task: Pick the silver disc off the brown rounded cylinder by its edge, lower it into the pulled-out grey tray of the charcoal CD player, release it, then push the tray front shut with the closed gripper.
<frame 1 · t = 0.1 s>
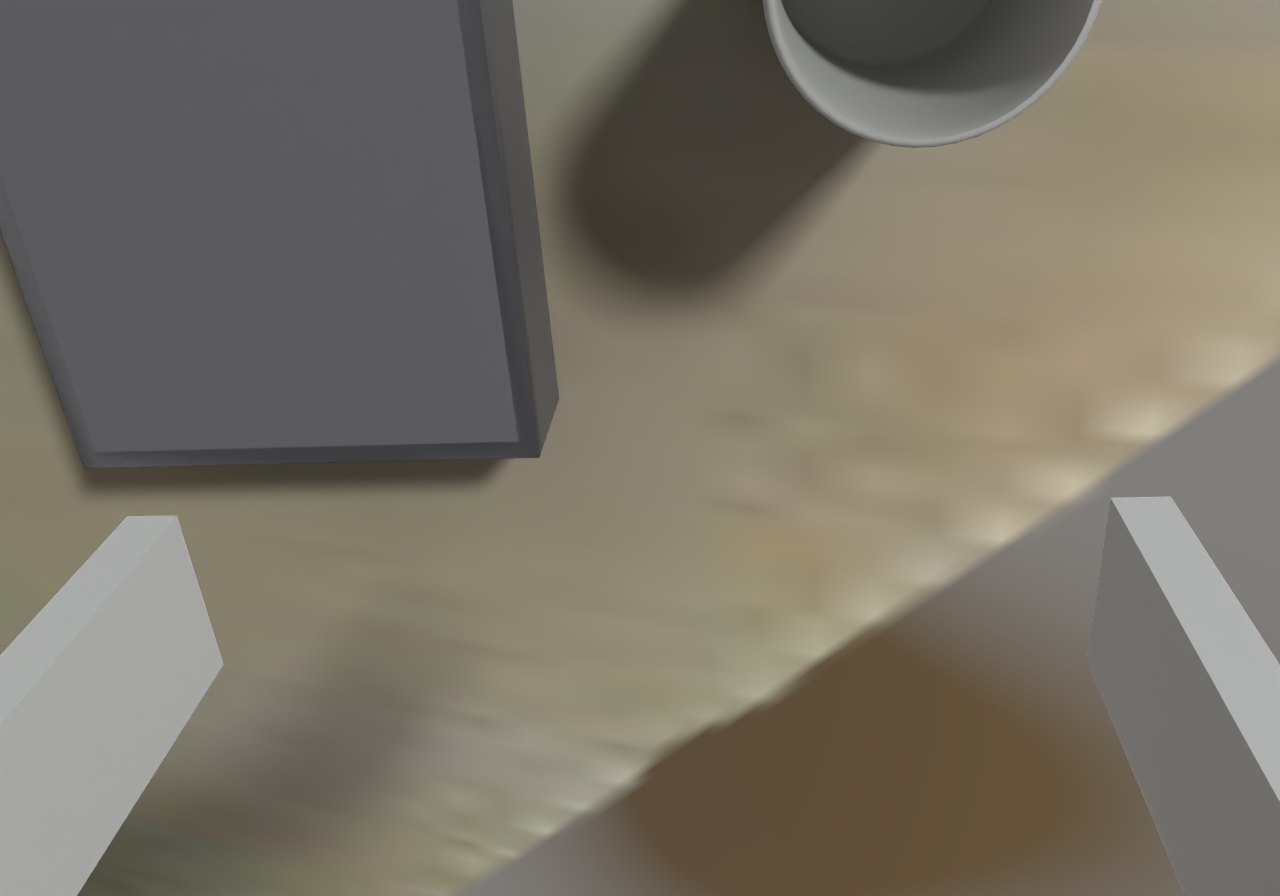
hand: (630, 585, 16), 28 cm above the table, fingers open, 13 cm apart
housing: (304, 206, 43), on the table
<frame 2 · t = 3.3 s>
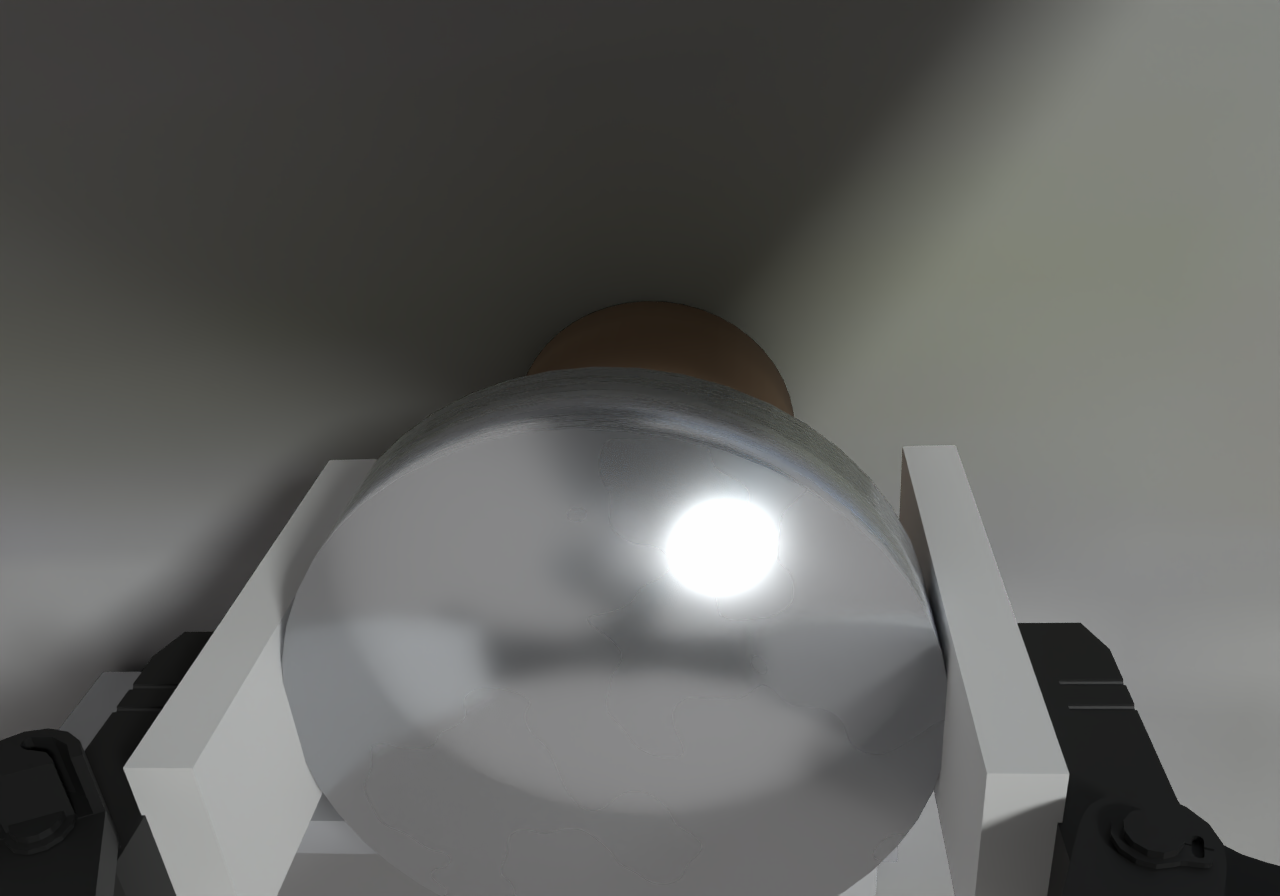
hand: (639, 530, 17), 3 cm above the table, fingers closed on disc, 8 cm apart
disc: (622, 641, 15), point 6 cm above the table, touching gripper, brown rounded cylinder
brown rounded cylinder: (654, 432, 20), on the table
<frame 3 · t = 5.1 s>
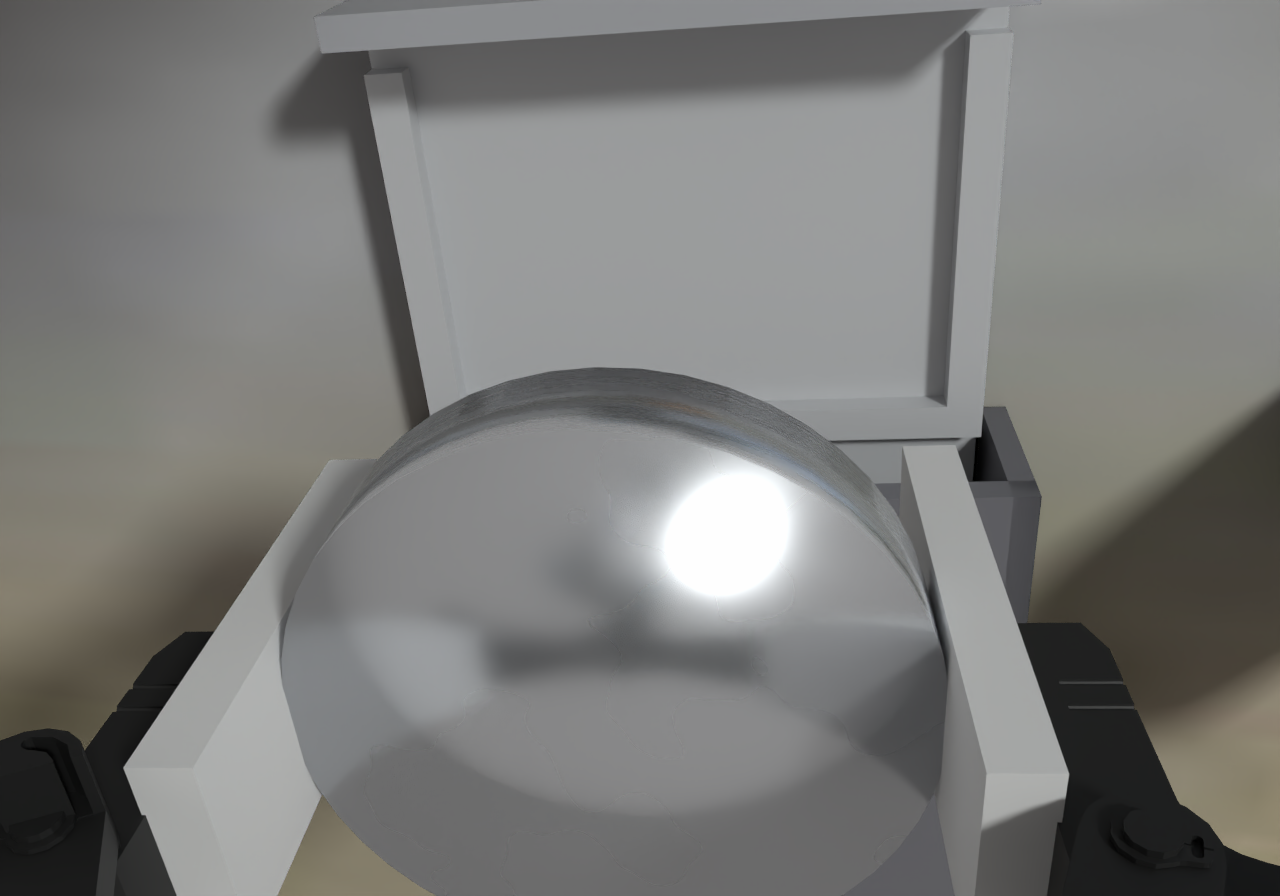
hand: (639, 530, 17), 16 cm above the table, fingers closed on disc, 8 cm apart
disc: (622, 642, 15), point 19 cm above the table, touching gripper
housing: (716, 631, 39), on the table
tray: (691, 311, 30), point 2 cm above the table, slide at 12.0 cm
when the fingers open (2 cm above the table, at t = 7.2 s): disc drops 3 cm, resting on tray.
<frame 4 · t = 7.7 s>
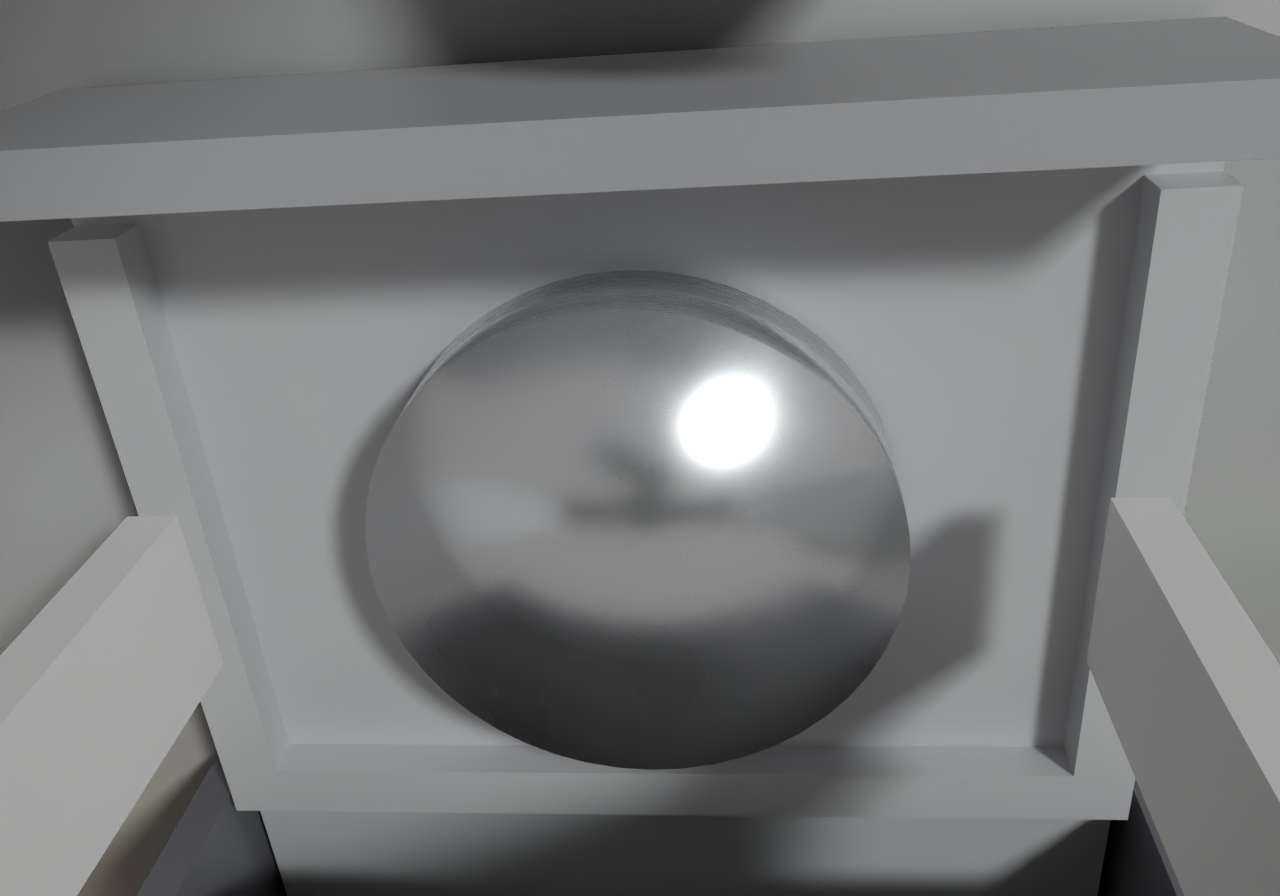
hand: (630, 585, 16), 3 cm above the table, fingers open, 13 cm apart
disc: (642, 509, 18), point 1 cm above the table, touching tray
tray: (643, 636, 18), point 2 cm above the table, slide at 12.0 cm, touching disc
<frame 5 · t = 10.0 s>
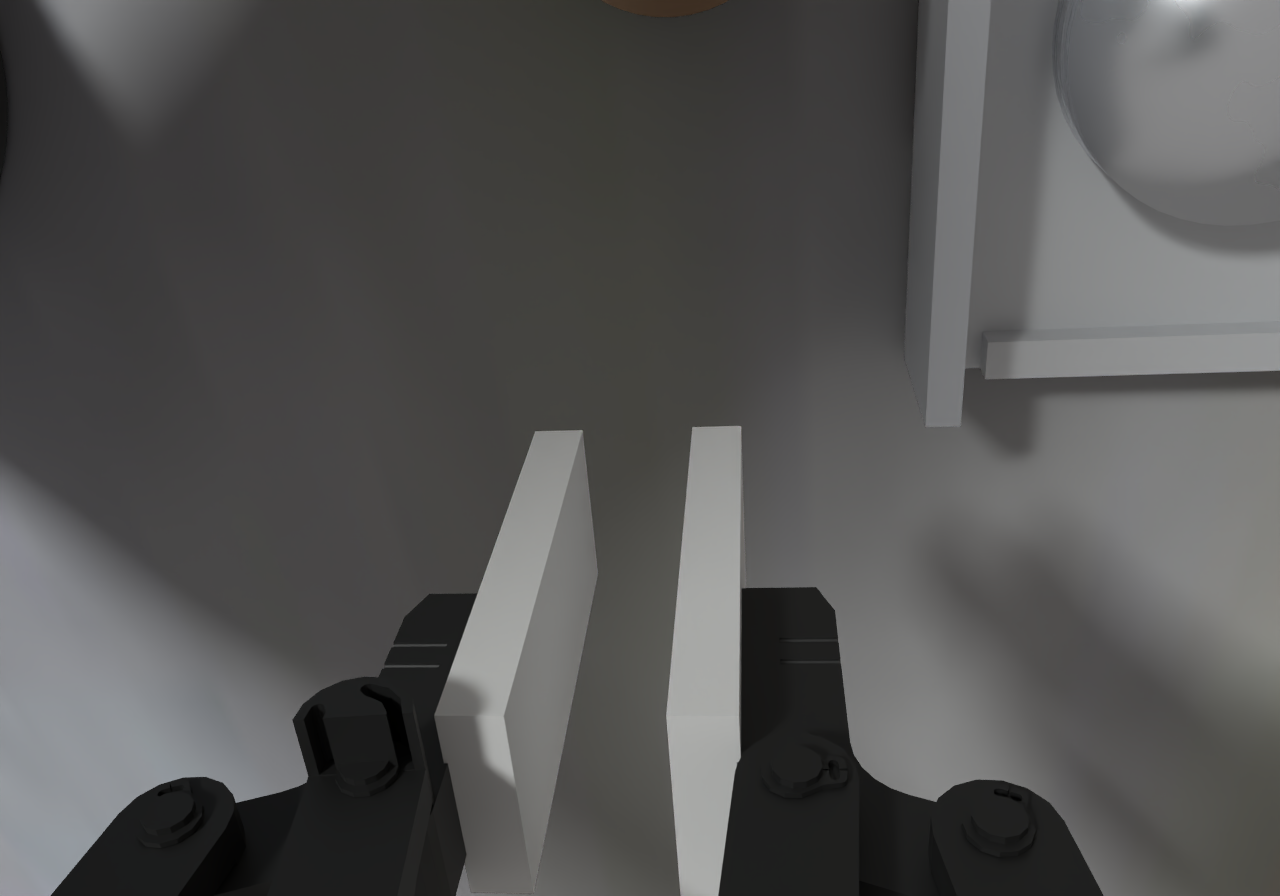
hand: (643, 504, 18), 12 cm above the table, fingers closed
disc: (1244, 23, 24), point 1 cm above the table, touching tray
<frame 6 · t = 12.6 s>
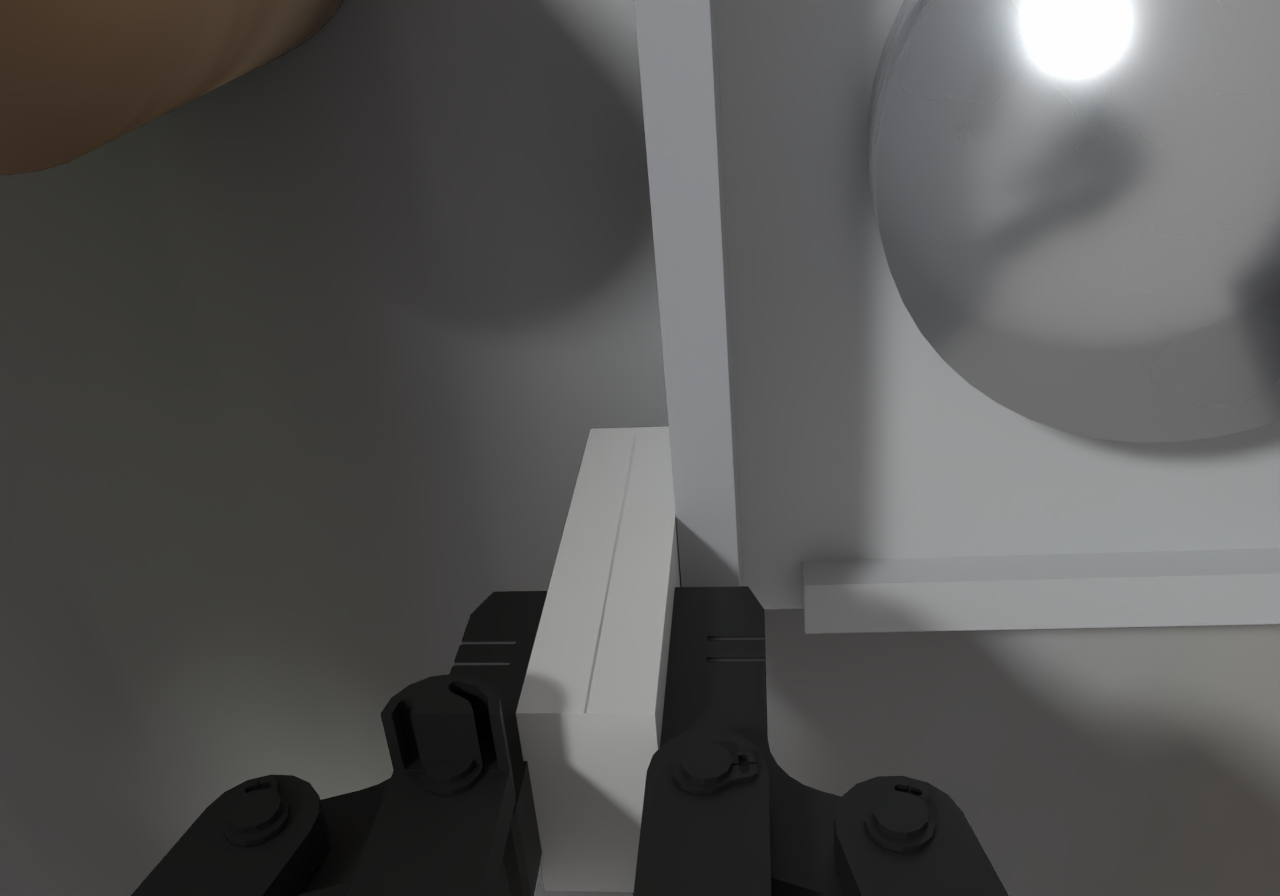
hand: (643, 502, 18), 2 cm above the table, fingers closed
disc: (1166, 127, 15), point 1 cm above the table, touching tray
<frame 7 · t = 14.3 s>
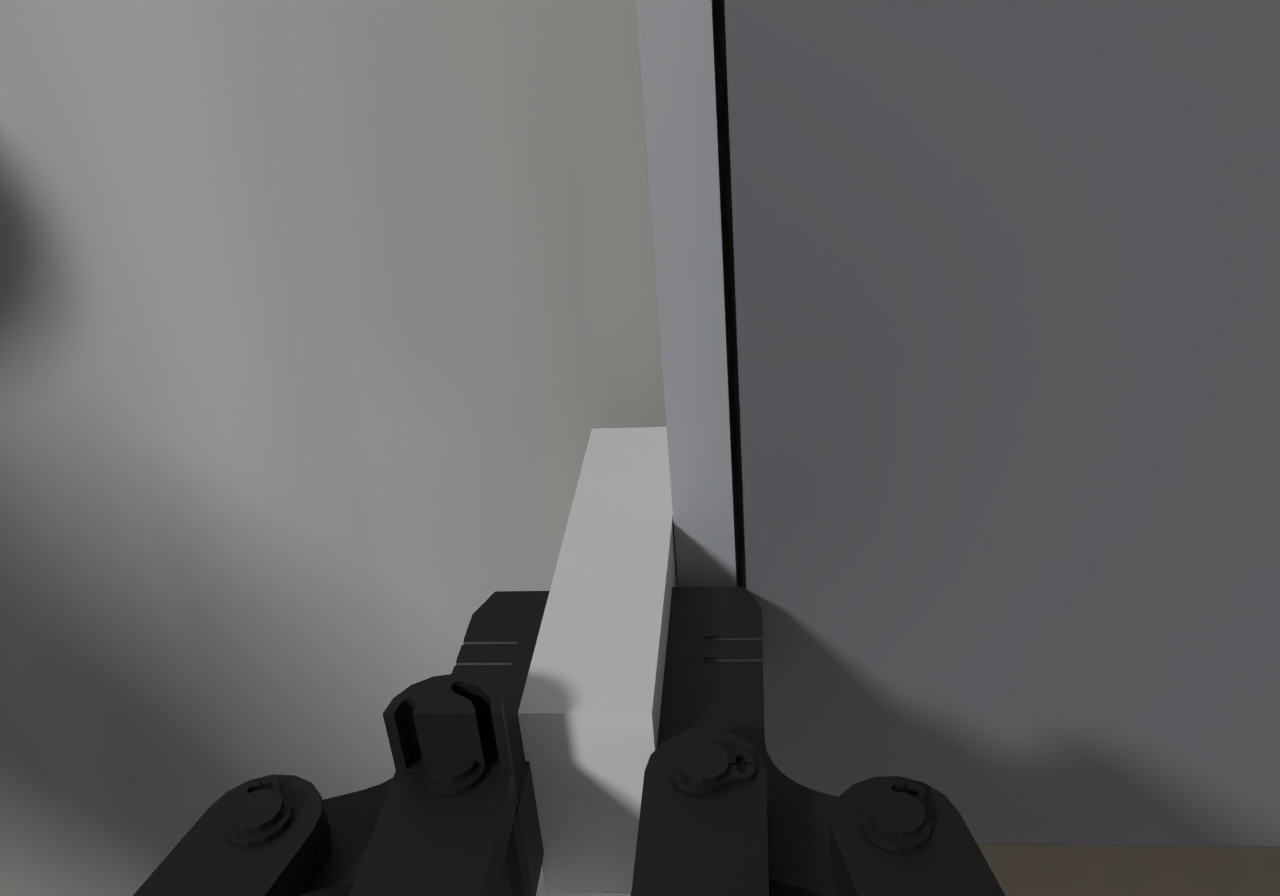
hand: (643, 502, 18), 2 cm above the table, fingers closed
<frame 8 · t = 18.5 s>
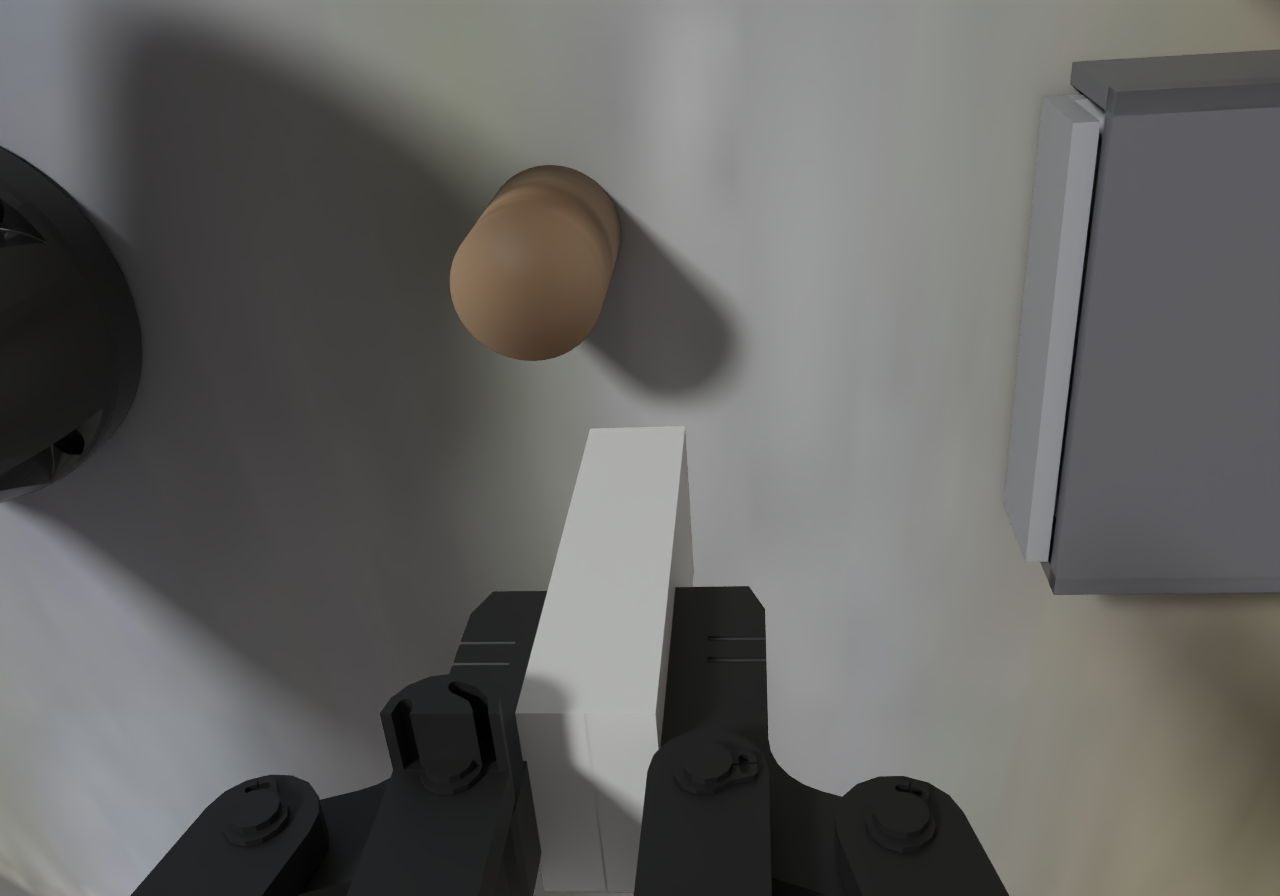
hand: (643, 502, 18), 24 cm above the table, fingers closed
brown rounded cylinder: (553, 232, 41), on the table
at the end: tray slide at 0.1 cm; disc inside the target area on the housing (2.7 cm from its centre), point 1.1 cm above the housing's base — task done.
